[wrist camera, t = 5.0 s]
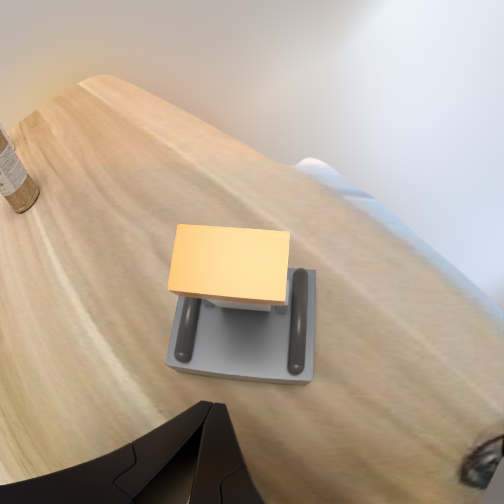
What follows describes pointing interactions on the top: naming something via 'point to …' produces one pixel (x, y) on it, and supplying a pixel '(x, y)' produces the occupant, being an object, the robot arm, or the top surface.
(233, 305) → the lever
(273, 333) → the grey railed base plate
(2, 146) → the sprinkles bottle
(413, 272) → the top surface
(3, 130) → the milk carton
